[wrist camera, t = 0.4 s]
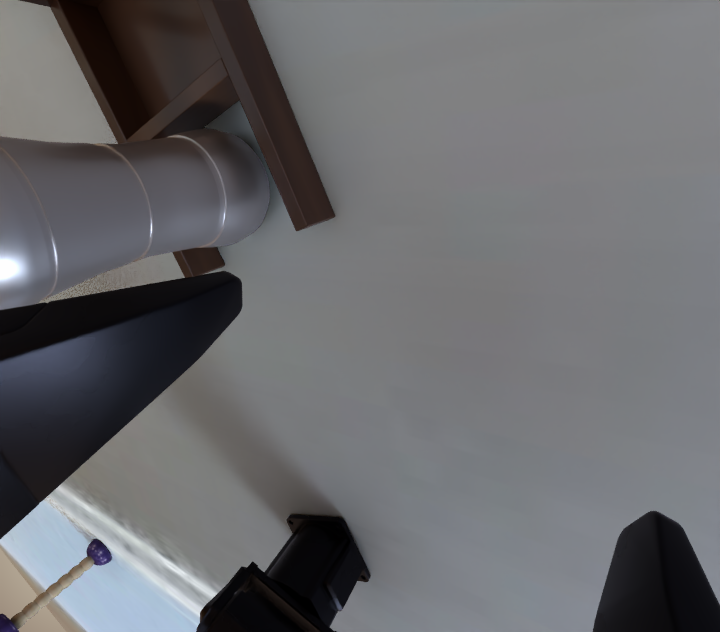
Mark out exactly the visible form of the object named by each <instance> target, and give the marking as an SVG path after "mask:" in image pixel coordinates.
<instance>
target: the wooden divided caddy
mask: <svg viewBox="0 0 720 632" xmlns="http://www.w3.org/2000/svg"><path fill="white" fill-rule="evenodd" d="M20 1H25V2H30V3H34V4H39V5H43V6H48V7H50V8H51V10H52V12H53V14H54V16H55V18H56V20H57V22H58V24H59V26H60V28H61V30H62V32H63V34H64V36H65V38H66V40H67V42H68V44H69V46H70V48H71V50H72V52H73V54H74V56H75V58H76V60H77V62H78V64H79V66H80V68H81V70H82V72H83V74H84V76H85V78H86V80H87V82H88V84H89V86H90V88H91V90H92V92H93V94H94V96H95V98H96V100H97V102H98V104H99V106H100V108H101V110H102V112H103V114H104V116H105V118H106V120H107V122H108V124H109V126H110V128H111V130H112V132H113V134H114V136H115V138H116V140H117V142H118V144H122V143H129V142H137V141H145V140H153V139H160V138H167V137H169V136H171V135H175V134H178V133H182V132H187V131H192V130H198V129H202V128H203V127H204V126H206V125H207V124H208V123H209V122H211V121H212V120H213V119H215V118H216V117H217V116H219V115H220V114H221V113H223V112H224V111H225V110H227V109H228V108H229V107H231V106H232V105H233V104H235V103H236V102H237V101H238V100H240V102H241V104H242V107H243V109H244V111H245V114H246V116H247V118H248V120H249V123H250V125H251V127H252V130H253V132H254V134H255V137H256V139H257V141H258V144H259V146H260V148H261V151H262V153H263V155H264V158H265V160H266V162H267V165H268V167H269V169H270V172H271V174H272V176H273V178H274V181H275V183H276V185H277V188H278V190H279V192H280V195H281V197H282V199H283V202H284V204H285V206H286V209H287V211H288V213H289V216H290V218H291V220H292V223H293V225H294V227H295V230H296V231H300V230H302V229H305V228H308V227H311V226H313V225H316V224H319V223H322V222H324V221H327V220H329V219H331V218H334V217H335V214H334V212H333V209H332V207H331V204H330V202H329V200H328V197H327V195H326V192H325V190H324V187H323V185H322V182H321V180H320V178H319V175H318V173H317V170H316V168H315V165H314V163H313V160H312V158H311V155H310V153H309V151H308V148H307V146H306V143H305V141H304V138H303V136H302V133H301V131H300V129H299V126H298V124H297V121H296V119H295V116H294V114H293V111H292V109H291V106H290V104H289V102H288V99H287V97H286V94H285V92H284V89H283V87H282V84H281V82H280V80H279V77H278V75H277V72H276V70H275V67H274V65H273V62H272V60H271V57H270V55H269V53H268V50H267V48H266V45H265V43H264V40H263V38H262V35H261V33H260V31H259V28H258V26H257V23H256V21H255V18H254V16H253V13H252V11H251V8H250V6H249V4H248V1H247V0H20ZM173 254H174V256H175V258H176V260H177V262H178V264H179V266H180V268H181V270H182V272H183V274H184V276H185V278H187V277H193V276H198V275H203V274H205V273H208V272H210V271H213V270H216V269H218V268H221V267H223V266H224V265H225V264H224V262H223V260H222V258H221V255H220V253H219V251H218V249H217V247H204V248H191V249H186V250H180V251H175V252H173Z"/></svg>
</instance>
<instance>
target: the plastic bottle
mask: <svg viewBox="0 0 720 632" xmlns="http://www.w3.org/2000/svg"><path fill="white" fill-rule="evenodd" d="M269 199H270V186H269V180H268V176H267V173H266V170H265V168H264V166H263V164H262V162H261V160H260V159H259V157H258V156H257V154H256V153H255V152H254V151H253V149H252V148H251V147H250V146H249V145H248V144H247V143H246V142H245V141H243V140H242V139H240V138H239V137H238V136H235V135H233V134H230V133H227V132H222V131H218V130H214V129H207V128H203V129H198V130H192V131H187V132H182V133H178V134H175V135H171V136H169V137H167V138H160V139H153V140H145V141H137V142H129V143H122V144H100V143H98V144H89V143H61V142H44V141H36V140H27V139H18V138H10V137H1V136H0V310H3V309H9V308H15V307H21V306H27V305H33V304H36V303H39V302H40V301H41V300H44V299H47V298H49V297H51V296H53V295H56V294H58V293H60V292H62V291H64V290H66V289H69V288H71V287H73V286H75V285H77V284H79V283H82V282H84V281H86V280H88V279H90V278H92V277H95V276H97V275H99V274H101V273H104V272H106V271H109V270H112V269H115V268H118V267H121V266H124V265H127V264H129V263H131V262H135V261H138V260H141V259H144V258H147V257H149V256H154V255H159V254H164V253H170V252H175V251H180V250H186V249H191V248H204V247H219V246H226V245H231V244H235V243H237V242H239V241H240V240H242V239H244V238H245V237H247V236H249V235H250V234H252V233H253V232H255V231H256V230H257V229H258V228H259V226H260V225H261V223H262V221H263V220H264V218H265V215H266V212H267V209H268V206H269Z"/></svg>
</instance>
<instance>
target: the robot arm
mask: <svg viewBox="0 0 720 632" xmlns="http://www.w3.org/2000/svg"><path fill="white" fill-rule="evenodd" d="M241 309H242V282H241V280H240V279H239V278H238V277H236V276H234V275H233V274H231V273H229V272H226V271H221V272H216V273H210V274H204V275H198V276H193V277H187V278H181V279H176V280H170V281H164V282H159V283H153V284H147V285H142V286H136V287H130V288H125V289H119V290H113V291H107V292H102V293H96V294H90V295H85V296H79V297H73V298H67V299H62V300H56V301H51V302H49V303H45V302H44V303H39V304H33V305H27V306H21V307H15V308H9V309H3V310H0V539H1V538H2V537H3V536H4V535H5V534H7V533H8V532H9V531H10V530H11V529H12V528H13V527H14V526H15V525H16V524H18V523H19V522H20V521H21V520H22V519H23V518H24V517H25V516H26V515H28V514H29V513H30V512H31V511H32V510H33V509H34V508H35V507H36V506H37V505H38V504H39V502H41V501H43V500H44V499H45V498H46V497H47V496H48V495H49V494H50V493H51V492H53V491H54V490H55V489H56V488H57V487H58V486H59V485H60V484H61V483H63V482H64V481H65V480H66V479H67V478H68V477H69V476H70V475H71V474H72V473H74V472H75V471H76V470H77V469H78V468H79V467H80V466H81V465H82V464H84V463H85V462H86V461H87V460H88V459H89V458H90V457H91V456H92V455H93V454H95V453H96V452H97V451H98V450H99V449H100V448H101V447H102V446H103V445H105V444H106V443H107V442H108V441H109V440H110V439H111V438H112V437H113V436H114V435H116V434H117V433H118V432H119V431H120V430H121V429H122V428H123V427H124V426H125V425H127V424H128V423H129V422H130V421H131V420H132V419H133V418H134V417H135V416H137V415H138V414H139V413H140V412H141V411H142V410H143V409H144V408H145V407H146V406H148V405H149V404H150V403H151V402H152V401H153V400H154V399H155V398H156V397H158V396H159V395H160V394H161V393H162V392H163V391H164V390H165V389H166V388H167V387H169V386H170V385H171V384H172V383H173V382H174V381H175V380H176V379H177V378H179V377H180V376H181V375H182V374H183V373H184V372H185V371H186V370H187V369H188V368H190V367H191V366H192V365H193V364H194V363H195V362H196V361H197V360H198V359H199V358H200V357H201V356H202V355H203V354H204V353H205V351H206V350H207V349H208V348H209V347H210V346H211V345H212V344H213V343H214V341H215V340H216V339H217V338H218V337H219V336H220V335H221V334H222V333H223V331H224V330H225V329H226V328H227V327H228V326H229V325H230V324H231V322H232V321H233V320H234V319H235V318H236V317H237V316H238V314H239V313H240V311H241ZM287 523H288V525H289V527H290V529H291V531H292V533H293V534H292V536H291V537H290V538H289V540H288V541H287V542H286V544H285V545H284V546H283V548H282V549H281V551H280V552H279V553H278V555H277V556H276V557H275V559H274V560H273V561H272V563H271V564H270V565H269V567H268V568H267V570H266V571H265V572H263V571H262V570H260V569H259V568H258V565H256V564H255V563H254V562H252V563H251V564H250V565H249V566H248V567H247V568H246V567H241V568H240V569H239V570H238V572H237V573H236V574H235V575H234V577H233V578H232V579H231V580H230V582H229V583H228V584H227V585H226V586H225V587H224V588H223V589H222V590H221V591H220V592H219V593H218V594H217V595H216V596H215V597H214V598H213V599H212V600H211V601H209V602H208V603H207V604H206V605H205V606H204V608H203V609H202V611H201V612H200V624H199V625H198V627H197V631H196V632H336V631H333V630H332V629H331V628H329V627H330V625H331V623H332V621H333V619H334V617H335V616H336V614H337V612H338V611H341V610H342V609H343V607H344V605H345V604H346V602H347V600H348V598H349V596H350V594H351V592H352V590H353V588H354V586H355V584H356V582H357V581H363V582H368V581H369V579H370V573H369V571H368V569H367V567H366V564H365V562H364V560H363V558H362V556H361V554H360V552H359V550H358V548H357V546H356V543H355V541H354V539H353V537H352V535H351V533H350V531H349V529H348V527H347V525H346V523H345V521H344V520H343V519H341V518H339V517H322V516H305V515H289V517H288V518H287ZM593 632H720V605H719V603H718V601H717V598H716V596H715V594H714V592H713V590H712V588H711V586H710V584H709V582H708V579H707V577H706V575H705V573H704V571H703V569H702V567H701V565H700V563H699V561H698V558H697V556H696V554H695V552H694V550H693V548H692V546H691V544H690V542H689V540H688V537H687V535H686V533H685V531H684V529H683V528H682V527H681V525H680V524H678V523H677V522H675V521H674V520H672V519H670V518H668V517H666V516H665V515H663V514H661V513H659V512H657V511H650V512H648V513H646V514H645V515H643V516H642V517H640V518H639V519H637V520H636V521H634V522H633V523H631V524H630V525H628V526H627V527H626V528H625V529H624V530H623V531H622V532H621V534H620V536H619V538H618V541H617V544H616V548H615V551H614V555H613V558H612V562H611V565H610V568H609V572H608V575H607V579H606V582H605V586H604V589H603V593H602V596H601V600H600V603H599V607H598V610H597V614H596V618H595V623H594V628H593Z"/></svg>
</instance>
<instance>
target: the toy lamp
mask: <svg viewBox="0 0 720 632" xmlns="http://www.w3.org/2000/svg"><path fill="white" fill-rule="evenodd" d="M87 556H88V557H86V558H84V559H83V560H82V561H81V562H80V563H79V565H76V566H75V567H73V568H72V569H71V570H70V571H69V572H68V573H67V574H65V575H63V576H62V577H61V578H60V579H59V580H58V581H57V582H56V583H54V584H52V585H51V586H50V587H49V588H48V589H47V590H46V591H45V592H44V593H42V594H40V595H39V596H38V597H37V598H36V599H35V600H34V602H31V603H30V604H28V605H27V606H26V607H25V608H24V609H23V610H22V612H20V613H18V614H16V615H15V616H13V617H12V618H11V620H10V619H9V618H7V617H6V616H5V615H4V614H0V632H19V631H18V629H19V628H20V627H22V626H23V625H24V624H25V622H26V621H27V620H28V619H30V618H32V617H33V616H34V615H35V614H36V613H37V612H38V611H39V609H41V608H43V607H44V606H46V605H47V604H48V603H49V602H50V600H51V599H53V598H55V597H56V596H58V595H59V594H60V593H61V591H62V590H63V589H65V588H67V587H68V586H70V585H71V584H72V582H73V581H74V580H76V579H78V578H79V577H80V576H81V575H82V574H83V573H84V571H87V570H88V569H90V568H91V567H92V566H93V564H95V565H104V564H106V563H108V562H110V561H111V555H110V553H109V551H108V549H107V548H106V547H105V546H104V544H102V542H100V541H99V540H97V539H94V540H93V541H92V542H91V543H90V544H89V546H88V548H87Z"/></svg>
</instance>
